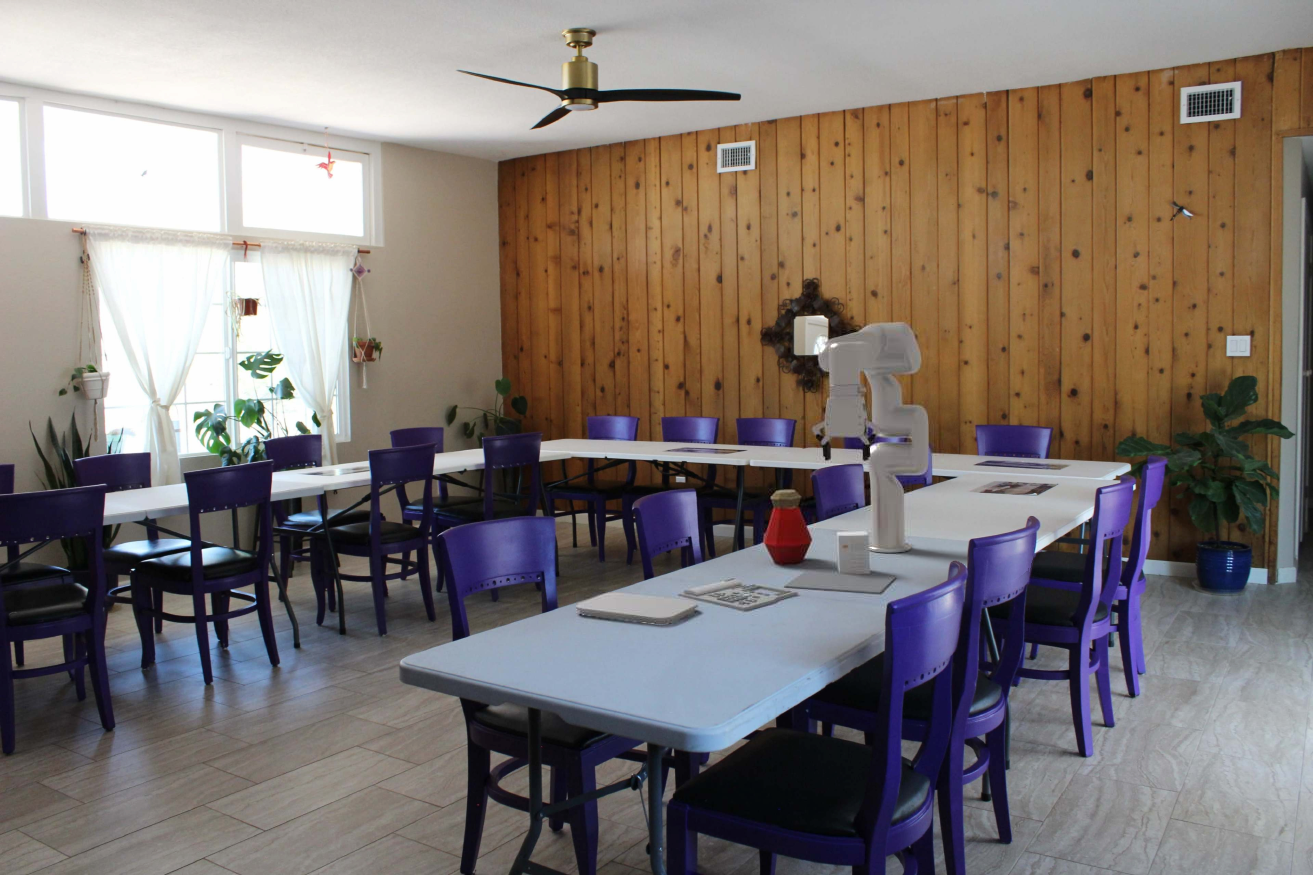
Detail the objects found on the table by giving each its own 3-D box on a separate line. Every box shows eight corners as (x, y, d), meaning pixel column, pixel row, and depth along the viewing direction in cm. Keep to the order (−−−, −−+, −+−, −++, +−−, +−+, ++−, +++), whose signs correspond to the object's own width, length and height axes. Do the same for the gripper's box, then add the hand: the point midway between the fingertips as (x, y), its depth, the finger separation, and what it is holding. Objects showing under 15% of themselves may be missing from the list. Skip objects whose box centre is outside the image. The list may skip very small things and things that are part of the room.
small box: (867, 569, 263) (866, 530, 262) (870, 574, 257) (869, 534, 256) (837, 570, 264) (836, 531, 263) (839, 574, 258) (838, 535, 257)
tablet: (666, 629, 213) (666, 618, 213) (571, 616, 227) (570, 606, 227) (703, 611, 227) (702, 601, 227) (610, 600, 241) (610, 591, 241)
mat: (805, 572, 262) (805, 571, 262) (895, 577, 252) (895, 576, 252) (784, 587, 246) (784, 585, 246) (879, 593, 235) (879, 592, 235)
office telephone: (676, 588, 242) (733, 574, 255) (677, 598, 242) (734, 584, 255) (743, 602, 224) (801, 586, 237) (744, 613, 224) (802, 597, 237)
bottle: (799, 568, 267) (797, 495, 266) (754, 564, 274) (752, 494, 273) (821, 557, 281) (819, 488, 279) (778, 554, 288) (776, 486, 286)
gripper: (882, 390, 245) (884, 458, 246) (815, 392, 252) (817, 458, 254) (876, 392, 238) (877, 462, 239) (807, 393, 246) (809, 461, 247)
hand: (846, 460), depth 246 cm, fingers open, 9 cm apart
